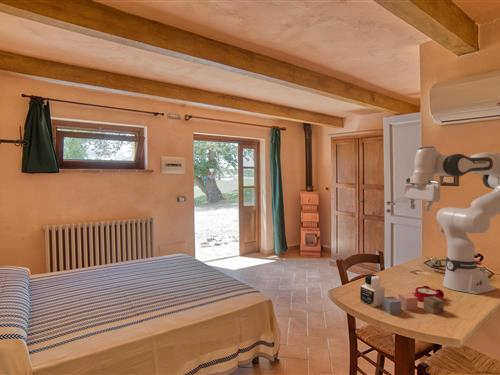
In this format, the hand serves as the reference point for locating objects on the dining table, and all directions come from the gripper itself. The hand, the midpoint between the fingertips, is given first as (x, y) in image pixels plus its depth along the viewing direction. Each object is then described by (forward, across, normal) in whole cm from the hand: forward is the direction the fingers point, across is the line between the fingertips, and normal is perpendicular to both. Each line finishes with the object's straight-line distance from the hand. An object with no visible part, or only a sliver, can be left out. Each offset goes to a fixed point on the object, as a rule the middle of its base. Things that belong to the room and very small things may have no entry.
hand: (419, 209), depth 150 cm
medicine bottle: (+42, -9, +25) cm, 50 cm away
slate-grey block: (+42, -18, +22) cm, 50 cm away
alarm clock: (+39, -9, -3) cm, 40 cm away
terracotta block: (+40, -16, +13) cm, 45 cm away
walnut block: (+40, -21, +5) cm, 45 cm away
